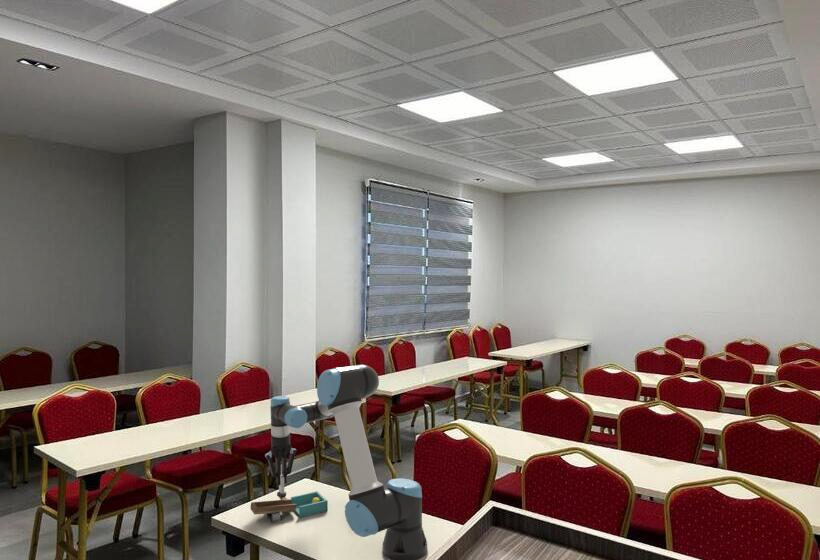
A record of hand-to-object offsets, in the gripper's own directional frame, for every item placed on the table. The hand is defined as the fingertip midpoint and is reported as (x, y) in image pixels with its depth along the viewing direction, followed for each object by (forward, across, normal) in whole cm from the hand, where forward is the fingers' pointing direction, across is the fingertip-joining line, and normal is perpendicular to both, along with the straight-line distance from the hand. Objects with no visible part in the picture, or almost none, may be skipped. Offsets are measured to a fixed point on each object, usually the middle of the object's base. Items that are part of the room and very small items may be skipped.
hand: (281, 492), depth 227 cm
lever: (+2, +7, +7) cm, 10 cm away
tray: (+4, -7, +12) cm, 15 cm away
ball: (+2, -10, +12) cm, 16 cm away
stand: (+4, +7, +12) cm, 15 cm away
